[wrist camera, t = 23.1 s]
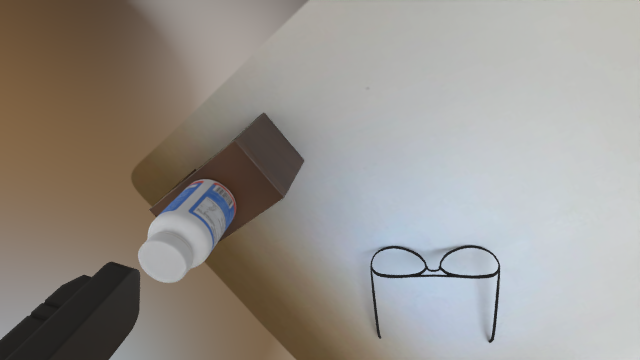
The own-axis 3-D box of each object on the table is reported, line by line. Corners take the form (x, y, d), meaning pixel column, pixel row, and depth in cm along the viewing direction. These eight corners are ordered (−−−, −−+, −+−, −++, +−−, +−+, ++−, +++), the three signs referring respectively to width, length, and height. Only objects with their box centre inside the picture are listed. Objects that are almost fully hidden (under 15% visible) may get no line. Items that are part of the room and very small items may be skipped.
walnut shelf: (264, 112, 45) (234, 140, 37) (304, 160, 46) (284, 197, 38) (189, 173, 50) (148, 209, 42) (227, 215, 52) (196, 257, 44)
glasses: (496, 244, 47) (505, 276, 42) (488, 330, 54) (496, 364, 50) (370, 245, 50) (367, 275, 46) (379, 327, 57) (378, 359, 53)
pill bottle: (187, 220, 42) (130, 282, 33) (184, 173, 39) (123, 226, 31) (238, 230, 41) (194, 296, 32) (239, 183, 39) (192, 240, 30)
